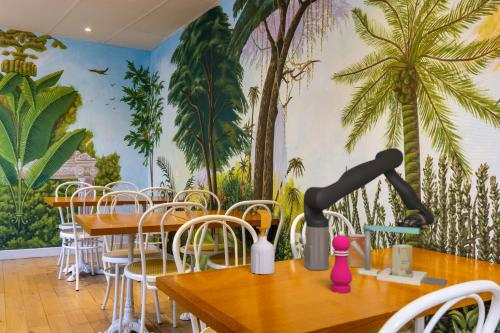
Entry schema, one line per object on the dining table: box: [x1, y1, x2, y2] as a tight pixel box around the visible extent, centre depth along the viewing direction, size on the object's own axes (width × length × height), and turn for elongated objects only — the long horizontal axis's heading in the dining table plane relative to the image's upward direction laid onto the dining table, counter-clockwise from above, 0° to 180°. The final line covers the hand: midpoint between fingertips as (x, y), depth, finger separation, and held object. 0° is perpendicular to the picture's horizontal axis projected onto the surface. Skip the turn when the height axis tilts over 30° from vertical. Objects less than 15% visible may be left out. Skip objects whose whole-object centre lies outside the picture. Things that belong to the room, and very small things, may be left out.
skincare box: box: [391, 243, 413, 278], centre depth 160 cm, size 6×4×12 cm
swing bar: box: [362, 223, 421, 235], centre depth 162 cm, size 21×3×2 cm, turn 58°
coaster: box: [422, 276, 448, 287], centre depth 154 cm, size 7×7×1 cm
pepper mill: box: [329, 230, 353, 294], centre depth 143 cm, size 7×7×20 cm
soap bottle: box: [250, 209, 275, 275], centre depth 168 cm, size 9×9×25 cm
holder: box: [357, 230, 428, 286], centre depth 162 cm, size 24×15×17 cm, turn 58°
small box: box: [347, 233, 365, 268], centre depth 179 cm, size 8×6×13 cm
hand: (405, 227), depth 166 cm, fingers closed
